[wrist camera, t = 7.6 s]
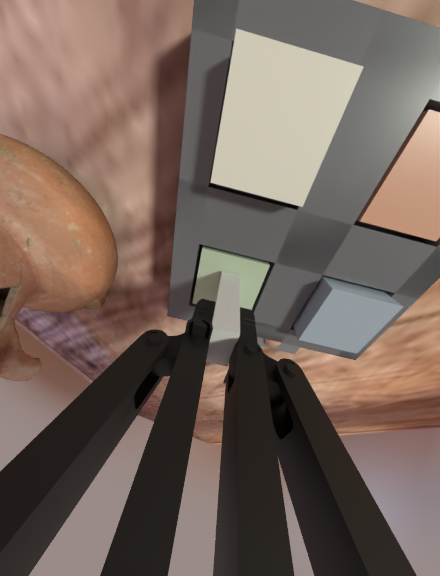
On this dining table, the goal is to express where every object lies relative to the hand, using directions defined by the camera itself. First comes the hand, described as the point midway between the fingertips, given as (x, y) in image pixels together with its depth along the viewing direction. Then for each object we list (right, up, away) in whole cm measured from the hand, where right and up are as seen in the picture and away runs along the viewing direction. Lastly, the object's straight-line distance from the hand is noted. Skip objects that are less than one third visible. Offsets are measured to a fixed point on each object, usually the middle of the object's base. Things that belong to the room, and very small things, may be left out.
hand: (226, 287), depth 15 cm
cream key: (+2, +9, -4) cm, 10 cm away
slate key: (+10, -2, +1) cm, 10 cm away
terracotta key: (+12, +7, -3) cm, 14 cm away
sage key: (0, +1, +2) cm, 2 cm away
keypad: (+6, +5, +1) cm, 8 cm away
